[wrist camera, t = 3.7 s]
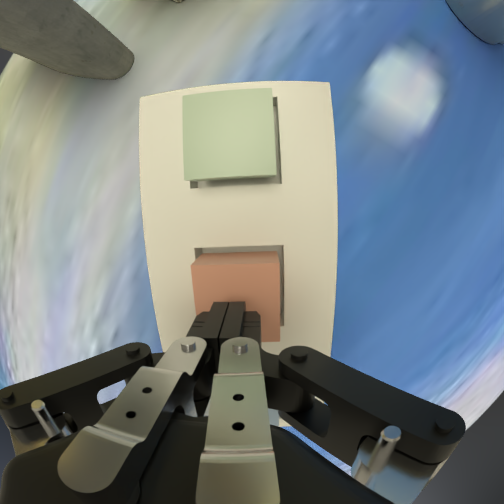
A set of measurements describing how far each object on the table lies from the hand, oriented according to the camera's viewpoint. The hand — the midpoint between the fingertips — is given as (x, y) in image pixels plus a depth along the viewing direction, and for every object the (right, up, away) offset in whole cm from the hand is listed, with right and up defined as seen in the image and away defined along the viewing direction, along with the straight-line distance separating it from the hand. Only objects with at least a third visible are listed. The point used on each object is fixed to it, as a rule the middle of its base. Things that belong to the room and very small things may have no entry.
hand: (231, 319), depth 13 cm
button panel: (0, +2, +8) cm, 8 cm away
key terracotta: (0, +1, +4) cm, 5 cm away
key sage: (0, +10, +2) cm, 10 cm away
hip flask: (-16, +22, +4) cm, 28 cm away
